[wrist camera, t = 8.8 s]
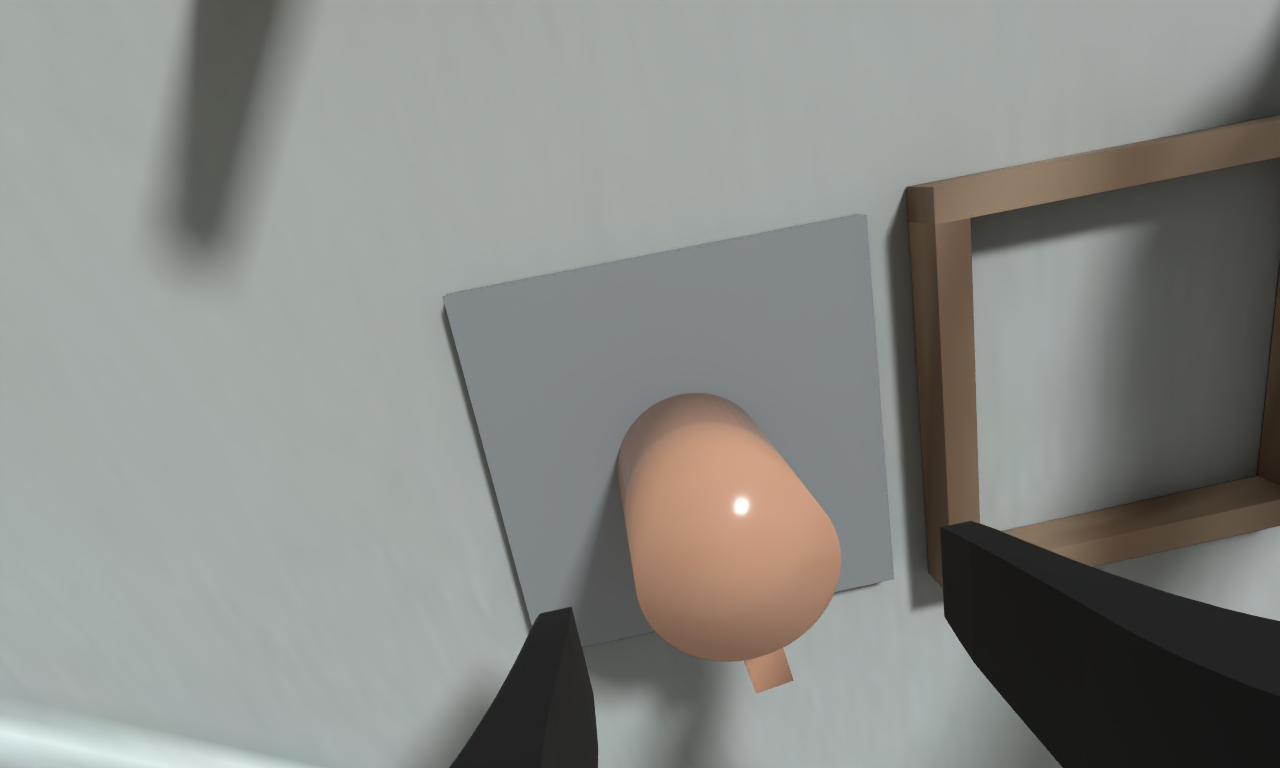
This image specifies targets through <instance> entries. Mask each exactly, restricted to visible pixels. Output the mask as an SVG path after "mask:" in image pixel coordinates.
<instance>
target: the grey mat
mask: <svg viewBox="0 0 1280 768" xmlns="http://www.w3.org/2000/svg"><path fill="white" fill-rule="evenodd" d="M443 300H444V304H445V308H446V311H447V315H448V319H449V322H450V326H451V330H452V333H453V337H454V341H455V344H456V348H457V352H458V356H459V359H460V363H461V367H462V370H463V374H464V378H465V381H466V385H467V389H468V392H469V396H470V400H471V403H472V407H473V411H474V415H475V418H476V422H477V426H478V429H479V433H480V437H481V440H482V444H483V448H484V451H485V455H486V459H487V462H488V466H489V470H490V474H491V477H492V481H493V485H494V488H495V492H496V496H497V499H498V503H499V507H500V510H501V514H502V518H503V522H504V525H505V529H506V533H507V536H508V540H509V544H510V547H511V551H512V555H513V558H514V562H515V566H516V569H517V573H518V577H519V581H520V584H521V588H522V592H523V595H524V599H525V603H526V606H527V610H528V614H529V617H530V621H531V625H532V626H533V624H534V622H535V620H536V618H537V617H538V615H539V614H540V613H544V612H549V611H553V610H558V609H563V608H567V607H572V610H573V614H574V618H575V622H576V626H577V630H578V634H579V638H580V642H581V646H582V647H586V646H591V645H596V644H600V643H605V642H609V641H614V640H618V639H623V638H628V637H632V636H637V635H641V634H646V633H650V632H655V630H654V629H653V628H652V627H651V625H650V624H649V622H648V621H647V619H646V618H645V616H644V614H643V612H642V610H641V608H640V604H639V601H638V598H637V593H636V586H635V580H634V574H633V568H632V562H631V555H630V549H629V543H628V537H627V530H626V524H625V518H624V512H623V505H622V499H621V493H620V487H619V480H618V474H617V460H618V453H619V450H620V446H621V443H622V441H623V439H624V436H625V434H626V433H627V431H628V429H629V428H630V426H631V425H632V424H633V423H634V421H635V420H636V419H637V418H638V417H639V416H640V415H641V414H642V413H643V412H644V411H646V410H647V409H648V408H650V407H651V406H653V405H654V404H656V403H658V402H660V401H662V400H664V399H667V398H669V397H672V396H676V395H679V394H686V393H707V394H712V395H717V396H720V397H723V398H725V399H728V400H730V401H731V402H733V403H735V404H737V405H738V406H739V407H741V408H742V409H743V410H745V411H746V412H747V413H748V414H749V415H750V417H751V418H752V419H753V420H754V422H755V423H756V424H757V425H758V427H759V428H760V429H761V431H762V432H763V433H764V434H765V436H766V437H767V438H768V440H769V441H770V442H771V443H772V445H773V446H774V447H775V448H776V450H777V451H778V452H779V454H780V455H781V456H782V457H783V459H784V460H785V461H786V463H787V464H788V465H789V466H790V468H791V469H792V470H793V472H794V473H795V474H796V475H797V477H798V478H799V479H800V480H801V482H802V483H803V484H804V486H805V487H806V488H807V489H808V491H809V492H810V493H811V495H812V496H813V497H814V498H815V500H816V501H817V502H818V503H819V505H820V506H821V507H822V509H823V510H824V511H825V513H826V514H827V515H828V517H829V518H830V520H831V522H832V524H833V526H834V528H835V530H836V533H837V536H838V539H839V544H840V550H841V568H840V576H839V580H838V584H837V587H836V590H835V592H838V591H842V590H847V589H851V588H856V587H860V586H865V585H870V584H874V583H879V582H883V581H888V580H892V579H894V572H893V559H892V546H891V533H890V520H889V507H888V493H887V480H886V467H885V454H884V441H883V428H882V414H881V401H880V388H879V375H878V362H877V349H876V336H875V322H874V309H873V296H872V283H871V270H870V257H869V243H868V230H867V217H866V215H859V214H857V215H852V216H847V217H841V218H836V219H831V220H826V221H821V222H816V223H811V224H805V225H800V226H795V227H790V228H785V229H780V230H774V231H769V232H764V233H759V234H754V235H749V236H744V237H738V238H733V239H728V240H723V241H718V242H713V243H708V244H702V245H697V246H692V247H687V248H682V249H677V250H672V251H666V252H661V253H656V254H651V255H646V256H641V257H636V258H630V259H625V260H620V261H615V262H610V263H605V264H600V265H594V266H589V267H584V268H579V269H574V270H569V271H563V272H558V273H553V274H548V275H543V276H538V277H533V278H527V279H522V280H517V281H512V282H507V283H502V284H497V285H491V286H486V287H481V288H476V289H471V290H466V291H461V292H455V293H450V294H446V295H445V296H444V297H443Z"/></svg>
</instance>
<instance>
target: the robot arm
mask: <svg viewBox="0 0 1280 768" xmlns="http://www.w3.org/2000/svg"><path fill="white" fill-rule="evenodd" d="M940 536H941V556H942V576H943V596H944V616H945V618H946V620H947V621H948V623H949V625H950V626H951V628H952V629H953V631H954V633H955V634H956V636H957V637H958V639H959V641H960V642H961V644H962V645H963V647H964V648H965V650H966V651H967V653H968V654H969V656H970V657H971V659H972V660H973V662H974V663H975V664H976V665H977V667H978V668H979V669H980V670H981V672H982V673H983V674H984V675H985V676H986V678H987V679H988V680H989V681H990V682H991V684H992V685H993V686H994V687H995V688H996V690H997V691H998V692H999V693H1000V694H1001V696H1002V697H1003V698H1004V699H1005V700H1006V701H1007V703H1008V704H1009V705H1010V706H1011V707H1012V708H1013V710H1014V711H1015V712H1016V713H1017V714H1018V716H1019V717H1020V718H1021V719H1022V720H1023V721H1024V723H1025V724H1026V725H1027V726H1028V727H1029V728H1030V730H1031V731H1032V732H1033V733H1034V734H1035V735H1036V737H1037V738H1038V739H1039V740H1040V741H1041V742H1042V744H1043V745H1044V746H1045V747H1046V748H1047V750H1048V751H1049V752H1050V753H1051V754H1052V755H1053V757H1054V758H1055V759H1056V760H1057V761H1058V762H1059V764H1060V765H1061V766H1062V767H1063V768H1280V621H1276V620H1272V619H1267V618H1262V617H1258V616H1253V615H1249V614H1245V613H1241V612H1237V611H1232V610H1228V609H1224V608H1221V607H1217V606H1213V605H1210V604H1206V603H1203V602H1199V601H1195V600H1192V599H1188V598H1184V597H1181V596H1177V595H1174V594H1171V593H1167V592H1164V591H1161V590H1158V589H1154V588H1151V587H1148V586H1145V585H1142V584H1139V583H1136V582H1133V581H1131V580H1128V579H1125V578H1122V577H1119V576H1116V575H1113V574H1110V573H1107V572H1105V571H1102V570H1099V569H1096V568H1094V567H1091V566H1088V565H1085V564H1083V563H1080V562H1078V561H1075V560H1072V559H1070V558H1067V557H1065V556H1062V555H1059V554H1057V553H1054V552H1052V551H1049V550H1047V549H1044V548H1042V547H1039V546H1037V545H1034V544H1032V543H1029V542H1027V541H1024V540H1022V539H1019V538H1017V537H1014V536H1012V535H1009V534H1006V533H1004V532H1001V531H999V530H996V529H993V528H991V527H988V526H985V525H982V524H979V523H976V522H973V521H967V522H963V523H958V524H953V525H949V526H944V527H940ZM450 768H598V740H597V728H596V717H595V706H594V696H593V691H592V687H591V683H590V679H589V675H588V671H587V666H586V662H585V658H584V654H583V650H582V646H581V642H580V638H579V634H578V630H577V626H576V622H575V618H574V614H573V610H572V607H567V608H563V609H558V610H553V611H549V612H544V613H540V614H539V615H538V617H537V618H536V620H535V622H534V624H533V626H532V628H531V630H530V632H529V635H528V637H527V639H526V641H525V643H524V645H523V647H522V649H521V651H520V653H519V655H518V657H517V659H516V661H515V663H514V665H513V667H512V669H511V671H510V672H509V674H508V676H507V678H506V680H505V681H504V683H503V685H502V687H501V689H500V691H499V692H498V694H497V696H496V698H495V699H494V701H493V703H492V704H491V706H490V708H489V709H488V711H487V712H486V714H485V716H484V717H483V719H482V720H481V722H480V724H479V725H478V727H477V728H476V730H475V732H474V733H473V735H472V736H471V738H470V739H469V741H468V742H467V744H466V745H465V747H464V748H463V750H462V751H461V752H460V754H459V755H458V757H457V758H456V759H455V761H454V762H453V764H452V765H451V766H450Z"/></svg>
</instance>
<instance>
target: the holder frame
mask: <svg viewBox="0 0 1280 768" xmlns="http://www.w3.org/2000/svg"><path fill="white" fill-rule="evenodd" d="M1278 157H1280V115H1277V116H1271V117H1266V118H1261V119H1256V120H1251V121H1246V122H1240V123H1235V124H1230V125H1225V126H1220V127H1215V128H1209V129H1204V130H1199V131H1194V132H1189V133H1183V134H1178V135H1173V136H1168V137H1163V138H1158V139H1152V140H1147V141H1142V142H1137V143H1132V144H1126V145H1121V146H1116V147H1111V148H1106V149H1101V150H1095V151H1090V152H1085V153H1080V154H1075V155H1070V156H1064V157H1059V158H1054V159H1049V160H1044V161H1038V162H1033V163H1028V164H1023V165H1018V166H1013V167H1007V168H1002V169H997V170H992V171H987V172H982V173H976V174H971V175H966V176H961V177H956V178H950V179H945V180H940V181H935V182H930V183H925V184H919V185H914V186H909V187H906V189H907V206H908V223H909V241H910V258H911V275H912V293H913V310H914V327H915V344H916V362H917V379H918V396H919V414H920V431H921V448H922V466H923V483H924V500H925V518H926V535H927V552H928V569H929V573H930V575H931V576H932V577H933V578H934V579H935V580H936V581H937V582H938V583H939V584H940V585H941V586H942V587H943V576H942V556H941V536H940V527H944V526H949V525H953V524H958V523H963V522H967V521H973V522H976V523H979V524H980V514H979V481H978V448H977V415H976V382H975V350H974V317H973V284H972V251H971V219H970V218H972V217H977V216H983V215H988V214H993V213H998V212H1003V211H1008V210H1013V209H1018V208H1023V207H1028V206H1034V205H1039V204H1044V203H1049V202H1054V201H1059V200H1064V199H1069V198H1074V197H1079V196H1085V195H1090V194H1095V193H1100V192H1105V191H1110V190H1115V189H1120V188H1125V187H1130V186H1136V185H1141V184H1146V183H1151V182H1156V181H1161V180H1166V179H1171V178H1176V177H1181V176H1187V175H1192V174H1197V173H1202V172H1207V171H1212V170H1217V169H1222V168H1227V167H1232V166H1238V165H1243V164H1248V163H1253V162H1258V161H1263V160H1268V159H1273V158H1278ZM1276 526H1280V270H1279V280H1278V289H1277V298H1276V308H1275V317H1274V326H1273V335H1272V345H1271V354H1270V363H1269V373H1268V382H1267V391H1266V401H1265V410H1264V419H1263V429H1262V438H1261V447H1260V457H1259V466H1258V475H1257V476H1254V477H1250V478H1245V479H1240V480H1236V481H1231V482H1227V483H1222V484H1217V485H1213V486H1208V487H1204V488H1199V489H1194V490H1190V491H1185V492H1181V493H1176V494H1171V495H1167V496H1162V497H1158V498H1153V499H1148V500H1144V501H1139V502H1135V503H1130V504H1125V505H1121V506H1116V507H1112V508H1107V509H1102V510H1098V511H1093V512H1089V513H1084V514H1079V515H1075V516H1070V517H1066V518H1061V519H1056V520H1052V521H1047V522H1043V523H1038V524H1033V525H1029V526H1024V527H1020V528H1015V529H1010V530H1006V531H1001V532H1004V533H1006V534H1009V535H1012V536H1014V537H1017V538H1019V539H1022V540H1024V541H1027V542H1029V543H1032V544H1034V545H1037V546H1039V547H1042V548H1044V549H1047V550H1049V551H1052V552H1054V553H1057V554H1059V555H1062V556H1065V557H1067V558H1070V559H1072V560H1075V561H1078V562H1080V563H1083V564H1085V565H1088V566H1091V567H1095V566H1100V565H1104V564H1109V563H1114V562H1118V561H1123V560H1127V559H1132V558H1136V557H1141V556H1145V555H1150V554H1154V553H1159V552H1163V551H1168V550H1172V549H1177V548H1181V547H1186V546H1190V545H1195V544H1199V543H1204V542H1209V541H1213V540H1218V539H1222V538H1227V537H1231V536H1236V535H1240V534H1245V533H1249V532H1254V531H1258V530H1263V529H1267V528H1272V527H1276Z"/></svg>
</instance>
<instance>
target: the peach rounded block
mask: <svg viewBox="0 0 1280 768" xmlns="http://www.w3.org/2000/svg"><path fill="white" fill-rule="evenodd" d="M617 474H618V480H619V487H620V493H621V499H622V505H623V512H624V518H625V524H626V530H627V537H628V543H629V549H630V555H631V562H632V568H633V574H634V580H635V586H636V593H637V598H638V601H639V604H640V608H641V610H642V612H643V614H644V616H645V618H646V619H647V621H648V622H649V624H650V625H651V627H652V628H653V629H654V630H655V631H656V633H657V634H658V635H659V636H660V637H661V638H663V639H664V640H665V641H666V642H668V643H669V644H670V645H672V646H673V647H675V648H677V649H678V650H680V651H682V652H685V653H687V654H689V655H692V656H695V657H699V658H702V659H707V660H713V661H727V662H729V661H742V660H744V662H745V665H746V667H747V670H748V673H749V676H750V678H751V681H752V684H753V687H754V689H755V692H756V693H759V692H762V691H765V690H768V689H770V688H773V687H776V686H779V685H782V684H785V683H788V682H790V681H793V678H792V675H791V671H790V668H789V665H788V662H787V659H786V656H785V653H784V649H783V647H785V646H787V645H789V644H790V643H792V642H793V641H795V640H796V639H798V638H799V637H800V636H802V635H803V634H804V633H805V632H806V631H807V630H809V629H810V628H811V627H812V626H813V625H814V623H815V622H816V621H817V620H818V619H819V618H820V616H821V615H822V614H823V612H824V611H825V610H826V608H827V606H828V604H829V603H830V601H831V599H832V597H833V595H834V592H835V590H836V587H837V584H838V580H839V576H840V568H841V550H840V544H839V539H838V536H837V533H836V530H835V528H834V526H833V524H832V522H831V520H830V518H829V517H828V515H827V514H826V513H825V511H824V510H823V509H822V507H821V506H820V505H819V503H818V502H817V501H816V500H815V498H814V497H813V496H812V495H811V493H810V492H809V491H808V489H807V488H806V487H805V486H804V484H803V483H802V482H801V480H800V479H799V478H798V477H797V475H796V474H795V473H794V472H793V470H792V469H791V468H790V466H789V465H788V464H787V463H786V461H785V460H784V459H783V457H782V456H781V455H780V454H779V452H778V451H777V450H776V448H775V447H774V446H773V445H772V443H771V442H770V441H769V440H768V438H767V437H766V436H765V434H764V433H763V432H762V431H761V429H760V428H759V427H758V425H757V424H756V423H755V422H754V420H753V419H752V418H751V417H750V415H749V414H748V413H747V412H746V411H745V410H743V409H742V408H741V407H739V406H738V405H737V404H735V403H733V402H731V401H730V400H728V399H725V398H723V397H720V396H717V395H712V394H707V393H686V394H679V395H676V396H672V397H669V398H667V399H664V400H662V401H660V402H658V403H656V404H654V405H653V406H651V407H650V408H648V409H647V410H646V411H644V412H643V413H642V414H641V415H640V416H639V417H638V418H637V419H636V420H635V421H634V423H633V424H632V425H631V426H630V428H629V429H628V431H627V433H626V434H625V436H624V439H623V441H622V443H621V446H620V450H619V453H618V460H617Z"/></svg>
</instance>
